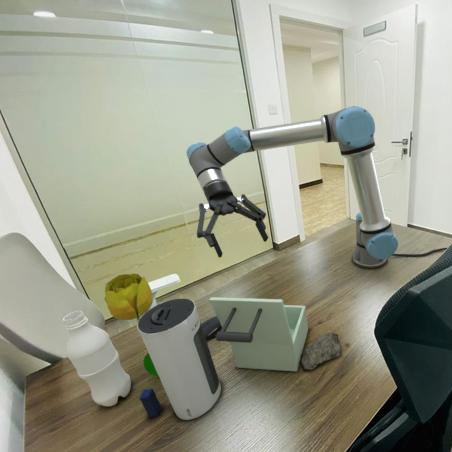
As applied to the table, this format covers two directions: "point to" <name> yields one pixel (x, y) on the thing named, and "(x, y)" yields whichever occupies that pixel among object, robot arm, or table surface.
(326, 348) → the stone
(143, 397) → the eraser
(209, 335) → the computer mouse
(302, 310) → the chest
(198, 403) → the white cylindrical appliance
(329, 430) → the table surface
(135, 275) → the flower
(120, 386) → the water bottle
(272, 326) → the lid
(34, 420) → the table surface
